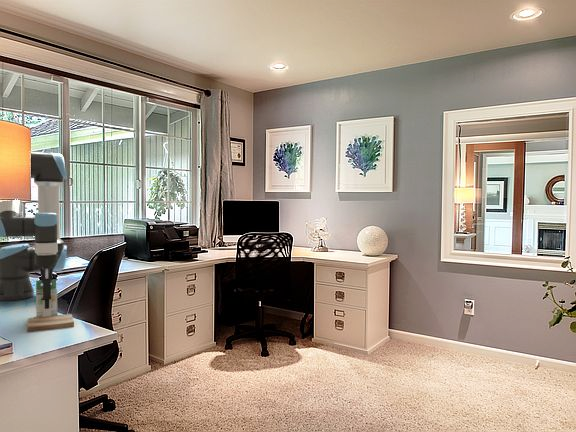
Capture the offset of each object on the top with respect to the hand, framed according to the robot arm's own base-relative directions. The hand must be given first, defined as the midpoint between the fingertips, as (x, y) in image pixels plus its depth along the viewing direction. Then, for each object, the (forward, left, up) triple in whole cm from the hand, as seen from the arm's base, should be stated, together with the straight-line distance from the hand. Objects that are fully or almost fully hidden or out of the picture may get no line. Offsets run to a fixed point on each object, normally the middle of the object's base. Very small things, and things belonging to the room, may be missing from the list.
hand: (46, 315), depth 164 cm
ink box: (0, 0, -1) cm, 1 cm away
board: (+13, +1, 0) cm, 13 cm away
